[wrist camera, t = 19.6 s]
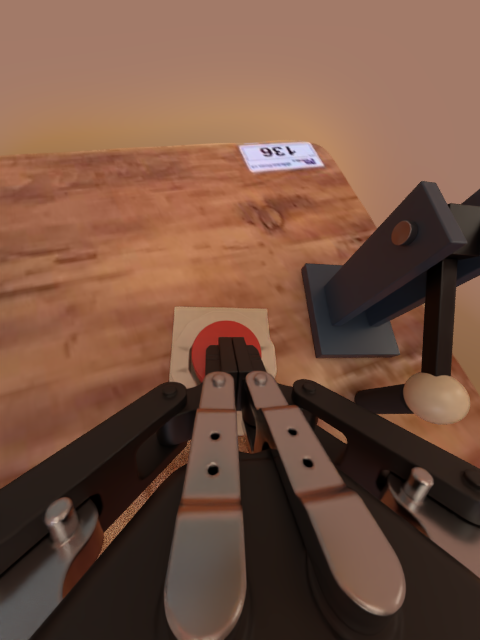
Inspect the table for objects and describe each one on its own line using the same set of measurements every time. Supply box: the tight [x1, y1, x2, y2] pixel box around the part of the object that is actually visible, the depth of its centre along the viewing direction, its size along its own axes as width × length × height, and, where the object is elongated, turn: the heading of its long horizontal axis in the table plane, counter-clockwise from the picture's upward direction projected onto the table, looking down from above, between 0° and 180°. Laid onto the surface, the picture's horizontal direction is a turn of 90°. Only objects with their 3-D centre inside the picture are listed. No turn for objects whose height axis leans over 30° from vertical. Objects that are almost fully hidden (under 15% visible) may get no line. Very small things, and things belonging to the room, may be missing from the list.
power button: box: [191, 320, 262, 383], centre depth 15 cm, size 4×4×2 cm
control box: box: [169, 307, 277, 436], centre depth 18 cm, size 10×8×4 cm
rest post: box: [355, 384, 414, 414], centre depth 18 cm, size 2×2×5 cm
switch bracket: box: [302, 181, 480, 358], centre depth 18 cm, size 10×8×13 cm
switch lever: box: [403, 203, 480, 425], centre depth 14 cm, size 13×3×3 cm, turn 2°
